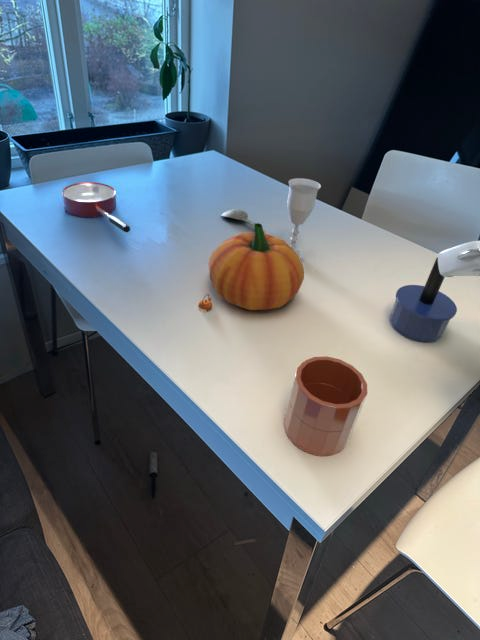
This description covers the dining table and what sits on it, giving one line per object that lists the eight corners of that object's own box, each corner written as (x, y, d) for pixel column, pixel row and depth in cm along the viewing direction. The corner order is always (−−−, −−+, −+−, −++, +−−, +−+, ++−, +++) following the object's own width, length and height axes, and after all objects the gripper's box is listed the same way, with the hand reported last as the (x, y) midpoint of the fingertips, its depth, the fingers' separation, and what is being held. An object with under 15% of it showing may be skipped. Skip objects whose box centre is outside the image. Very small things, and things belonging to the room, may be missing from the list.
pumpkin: (312, 315, 89) (329, 248, 80) (219, 323, 84) (225, 253, 75) (280, 265, 103) (291, 204, 94) (199, 270, 98) (202, 205, 89)
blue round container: (448, 324, 91) (458, 302, 88) (433, 349, 84) (445, 327, 81) (399, 304, 95) (407, 282, 92) (381, 326, 88) (390, 303, 85)
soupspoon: (235, 213, 125) (216, 219, 122) (236, 202, 123) (216, 207, 120) (288, 244, 112) (268, 251, 109) (290, 232, 110) (269, 239, 106)
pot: (358, 425, 67) (377, 378, 61) (331, 468, 61) (349, 420, 55) (303, 394, 71) (316, 347, 65) (271, 431, 65) (282, 382, 59)
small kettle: (195, 304, 88) (196, 293, 86) (210, 301, 89) (210, 290, 87) (201, 312, 86) (201, 301, 84) (215, 310, 87) (216, 298, 85)
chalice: (286, 266, 103) (300, 191, 92) (270, 253, 108) (281, 179, 97) (311, 261, 107) (327, 188, 96) (294, 248, 111) (308, 177, 100)
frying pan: (163, 243, 106) (162, 218, 102) (112, 256, 99) (109, 229, 95) (103, 194, 125) (101, 172, 121) (56, 202, 118) (53, 179, 114)
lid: (460, 305, 88) (483, 260, 82) (445, 332, 80) (469, 284, 74) (405, 283, 93) (422, 239, 87) (386, 306, 85) (403, 259, 79)
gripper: (479, 272, 57) (416, 291, 71) (608, 271, 62) (525, 290, 75) (474, 224, 58) (412, 253, 72) (601, 227, 62) (520, 253, 76)
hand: (471, 272), depth 73 cm, fingers open, 8 cm apart
